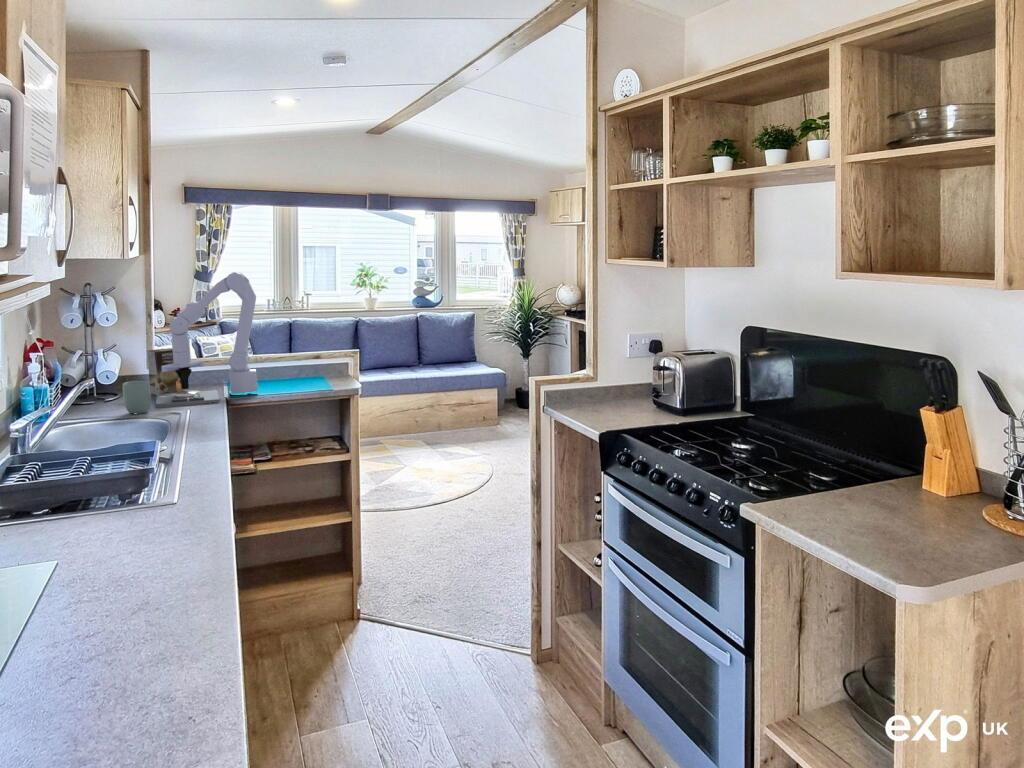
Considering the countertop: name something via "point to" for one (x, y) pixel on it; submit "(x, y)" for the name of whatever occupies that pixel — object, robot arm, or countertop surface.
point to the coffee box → (161, 372)
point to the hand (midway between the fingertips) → (184, 388)
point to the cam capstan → (182, 393)
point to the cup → (137, 396)
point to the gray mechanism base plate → (186, 399)
